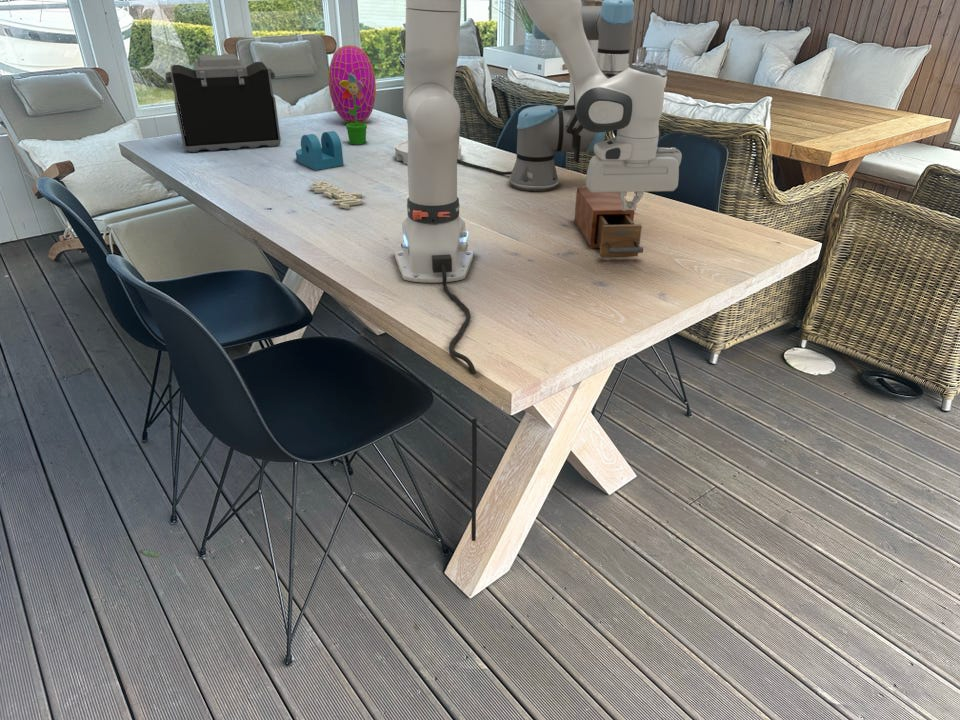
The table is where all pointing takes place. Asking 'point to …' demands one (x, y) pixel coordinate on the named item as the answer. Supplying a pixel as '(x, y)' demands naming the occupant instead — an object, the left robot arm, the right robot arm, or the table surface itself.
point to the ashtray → (402, 152)
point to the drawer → (617, 236)
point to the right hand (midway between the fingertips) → (602, 161)
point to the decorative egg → (361, 68)
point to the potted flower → (354, 129)
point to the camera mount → (320, 151)
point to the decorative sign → (337, 194)
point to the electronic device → (225, 104)
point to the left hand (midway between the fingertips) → (628, 210)
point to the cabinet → (595, 211)
